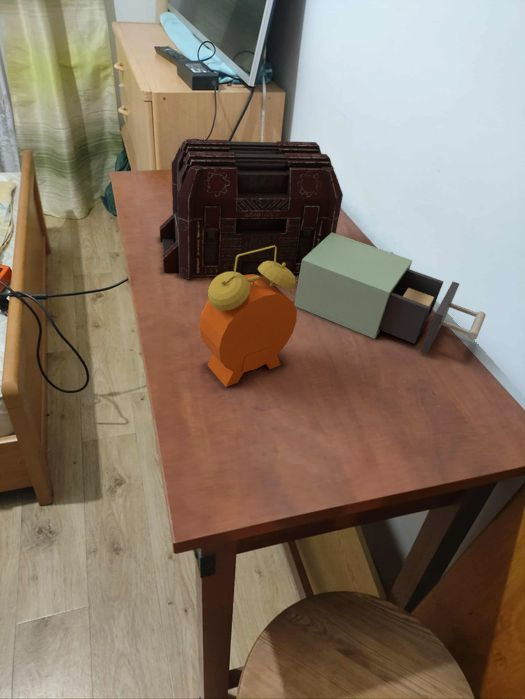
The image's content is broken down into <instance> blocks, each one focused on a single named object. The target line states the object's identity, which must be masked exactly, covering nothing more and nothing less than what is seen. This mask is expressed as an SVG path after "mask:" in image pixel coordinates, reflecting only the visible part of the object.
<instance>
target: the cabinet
mask: <svg viewBox="0 0 525 699" xmlns="http://www.w3.org/2000/svg"><path fill="white" fill-rule="evenodd" d="M412 263H413V260H412V259H410V258H406V257H404V256H401V255H398V254H396V253H393V252H391V251H390V252H389V251H386V250H384V249H381V248H378V247H375V246H373V245H370V244H366V243H364V242H361V241H358V240H356V239H352V238H350V237H346V236H344V235H341V234H339V233H336V234H335V233H333V232H332V233H330V234H329V235H328V236H327V237H326V238H325V239H324V240H323V241H322V242H321V243H320V244H319V245H317V246H316V247H315V248H314V249H313V250H312V251H311V252H310V253H309V254H308V255H307V256H306V257H304V258H303V259H302V264H301V269H300V273H298V274H299V275H298V280H297V286H296V292H295V297H294V305H295V308H298V309H301V310H303V311H305V312H308V313H310V314H312V315H315V316H318V317H320V318H323V319H325V320H327V321H330V322H332V323H335V324H338V325H339V326H342V327H345V328H347V329H349V330H352V331H354V332H357V333H359V334H362V335H364V336H367V337H369V338H371V339H376V338H377V336H378V335H379V333H380V332H381V330H379V327H380V323H381V320H382V317H383V314H384V311H385V308H386V305H387V302H388V299H389V295H390V293H391V292H392V291H393V289H394V288H395V286H396V285H397V283H398V282H399V281H400V279H401V278H402V276H403V275H404V274H405V272H406V271H407V269H410V270H411V266H412Z"/></svg>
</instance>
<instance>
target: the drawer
mask: <svg viewBox="0 0 525 699" xmlns="http://www.w3.org/2000/svg"><path fill="white" fill-rule="evenodd" d="M443 284H444V280H441V279H439V278H435V277H432V276H430V275H427V274H424V273H421V272H418V271H416V270H413V269H411V268H410V269H407V271H406V272H405V274H404V275H403V276H402V278H401V279H400V281H399V282H398V283H397V285H396V286H395V288H394V289H393V291H392V292H391V293H390V295H389V299H388V302H387V305H386V308H385V311H384V314H383V317H382V320H381V323H380V327H379V330H380V332H381V331H382V332H384V333H387V334H389V335H391V336H394V337H396V338H398V339H401V340H404V341H407V342H408V343H411V344H414V345H415V344H416V342H417V340H418V339H419V337H420V335H421V333H422V331H424V328H425V326H426V324H427V322H428V321H429V319H430V317H431V315H432V312H433V310H434V307H435V305H436V303H437V299H438V298H439V297H438V296H439V295H440V292H441V290H442V287H443ZM459 286H460V283H459V282H456V281H451V284H450V286H449V288H448V289H447V291H446V293H445V295H444V297H443V298H442V300H441V302H440V304H439V306H438V308H437V310H436V311H435V314H434V316H433V319H432V321H431V323H430V326H429V328H428V331H427V334H426V336H425V338H424V341H423V343H422V346H421V348H420V352H423V353H425V354H429V352H430V350H431V347H432V345H433V343H434V341H435V340H436V337H437V335H438V334H439V332H440V330H441V328H442V327H446V328H448V329H451V330H453V331H456V332H459V333H461V334H463V335H467V337H468V339H469V340H472V341H475V340H477V338H478V337H479V334H480V331H481V329H482V327H483V324H484V321H485V319H486V316H487V315H486V313H485V311H482V310H481V311H480V310H479V311H478V312H477V311H474V310H472V309H469V308H466V307H463V306H461V305H458V304H455V303H453V301H454V298H455V296H456V293H457V291H458V288H459ZM408 288H411V289H413V290H416V291H419V292H422V293H424V294H427V295H430V296H433V297H434V299H433V302H432V304H431V307H430V309H429V306H427V305H424V304H421V303H419V302H416V301H413V300H411V299H408V298H405V297H403V295H404V294H405V292H406V291H407V289H408ZM428 309H429V312H428ZM450 309H453V310H456V311H458V312H461V313H464V314H466V315H469V316H472V317H474V319H473V322H472V324H471V326H470V329H467V328H464V327H462V326H459V325H456V324H453V323H451V322H448V321H446V317H447V315H448V312H449V310H450ZM427 312H428V315H427ZM426 315H427V317H426ZM425 317H426V319H425ZM424 320H425V321H424ZM423 322H424V323H423Z"/></svg>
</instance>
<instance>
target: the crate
mask: <svg viewBox="0 0 525 699" xmlns="http://www.w3.org/2000/svg"><path fill="white" fill-rule="evenodd" d="M170 163H171V165H170V166H171V169H170V170H171V198H172V199H171V201H172V205H171V206H172V214H171V215H170V216H169V217H168V218H167V219H166V220H164V222H163V223H161V225H160V226H159V242H160V243H162V250H163V254H162V269H163V273H178V275H179V277H182V278H184V279H187V280H190V279H192V278H194V277H217V276H218V275H220V274H222V273H225V272H234V268H235V261H236V256H237V255H239V254H243V253H247V252H250V251H254V250H258V249H262V248H266V247H270V246H276V247H277V251H276V263H279V264H281V265H282V264H283V262H284V263H286V266H285V267H286V268H287V269H288V270H290V271H291V272H292V274H300V269H301V264H302V259H303V258H304V257H306V256H307V255H308V254H309V253H310V252H311V251H312V250H313V249H314V248H315V247H316V246H317V245H319V244H320V243H321V242H322V241H323V240H324V239H325V238H326V237H327V236H328V235H329V234H330V233H332V232H333V233H335V234H337V229H338V223H339V220H340V219H339V218H340V214H341V209H342V203H343V196H344V194H343V191H342V188H341V184H340V182H339V179H338V176H337V173H336V171H335V168H334V165H333V163H332V159H331V158H330V156H329V155H328V154H327V153H322V151H321V147H320V145H319V144H318V143H317V142H316V141H289V140H288V141H284V140H282V141H281V140H276V142H275V141H269V142H268V141H235V140H230V141H229V140H228V139H200V138H198V139H196V138H195V139H194V138H184V140H183V141H182V142H181V144H180V146H179V147H178V149H177V151H176V153H175V155H174V156H173V158H172V160H171V162H170ZM274 257H275V247H272V248H268V249H265V250H261V251H257V252H253V253H249V254H245V255H241V256H239V257H238V259H237V266H236V272H238V273H240V274H254V273H260V272H259V270H258V267H259V266H260V265H261V264H262V263H263V262H266V261H273V262H274Z"/></svg>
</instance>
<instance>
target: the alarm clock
mask: <svg viewBox="0 0 525 699" xmlns="http://www.w3.org/2000/svg"><path fill="white" fill-rule="evenodd" d="M272 247H275V257H274V262H273V261H266V262H263V263H262V264H261V265H260V266H259V267H258V270H259V272H258V273H260V274H261V275H258V274H254V273H250V274H244V275H243V273H241V274H240V273H238V272H236V266H237V259H238V257H239V256H241V255H245V254H249V253H253V252H257V251H261V250H265V249H268V248H272ZM276 251H277V247H276V246H270V247H266V248H262V249H258V250H254V251H250V252H247V253H243V254H239V255H237V256H236V261H235V268H234V272H225V273H222V274H220V275H218V276H215V277H214V278H213V279H212V280H211V283H210V284H209V287H208V290H207V296H208V300H207V301H206V302H205V305H204V307H203V309H202V311H201V313H200V319H199V323H198V324H199V326H198V327H199V334H200V335H199V336H200V339H201V340H202V342H203V343H204V344H205V346H206V347H207V349H208V350H209V351H210V352H211V353H212V354H211V356H210V359H209V360H208V363H207V367H208V368H209V369H210V370H211V372H212V373H213V374H214V375H215V377H217V379H218V380H219V381H220V382H221V383H222V385H223V386H224V387H225V388H228V387H229V386H232V385H234V384H238V383H239V381H240V379H241V377H242V376H243V374H244V373H246V372H249V371H254V370H257V369H258V368H260V367H262V366H264V365H265V366H266V367H267V368H268V369H269V370H272V369H274V368H275V369H276V368H277V367H279V366H281V362H280V359H279V356H278V354H280V352H281V351H282V350H283V349H284V348H285V346H286V345H287V344H288V342H289V341H290V339H291V337H292V335H293V333H294V331H295V327H296V325H297V317H298V311H297V307H296V306H295V305H294V303H295V301H293V300H292V299H290V298H289V297H288V296H287V295H286V294H285V293H283V292H282V291H281V290H280V289H279V288H278V287H277V286H279V287H281V288H283V289H286V290H289V291H294V290H295V288H296V283H297V282H296V276H295V275H294V273H292V272H291V271H290V270H288V269H287V268H286V267H285V266H286V263H284V262H283V264H282V265H281V264H279V263H276ZM275 285H277V286H275Z"/></svg>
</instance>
